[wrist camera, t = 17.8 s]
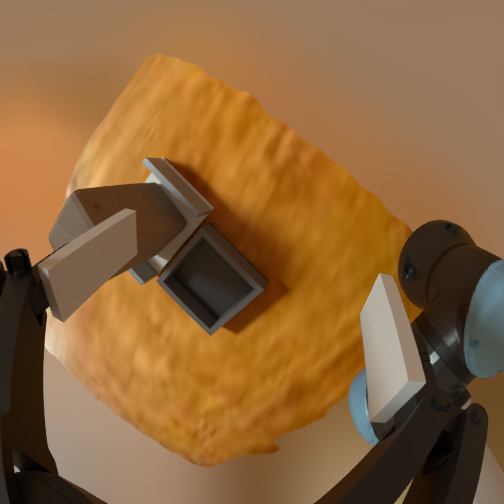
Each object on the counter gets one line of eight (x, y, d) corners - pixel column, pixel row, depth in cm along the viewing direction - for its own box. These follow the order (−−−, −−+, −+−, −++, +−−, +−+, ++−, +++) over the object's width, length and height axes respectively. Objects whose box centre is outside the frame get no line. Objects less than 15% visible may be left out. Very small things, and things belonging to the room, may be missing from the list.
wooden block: (157, 179, 45) (71, 186, 26) (191, 223, 45) (113, 254, 27) (126, 215, 48) (44, 238, 29) (155, 257, 49) (79, 298, 30)
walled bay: (214, 208, 44) (200, 212, 39) (156, 276, 51) (140, 286, 45) (164, 157, 44) (146, 156, 39) (115, 229, 50) (97, 234, 45)
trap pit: (268, 280, 46) (264, 290, 42) (218, 325, 50) (210, 335, 46) (211, 223, 45) (201, 227, 41) (167, 273, 50) (156, 280, 46)
